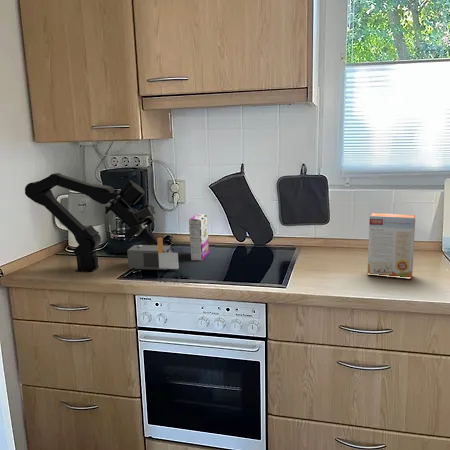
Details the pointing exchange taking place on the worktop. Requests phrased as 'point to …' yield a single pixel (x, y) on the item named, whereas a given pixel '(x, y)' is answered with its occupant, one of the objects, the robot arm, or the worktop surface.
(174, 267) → the side door
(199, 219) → the candy bar box
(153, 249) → the grey box with panel
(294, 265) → the worktop surface
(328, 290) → the worktop surface
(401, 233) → the cracker box
